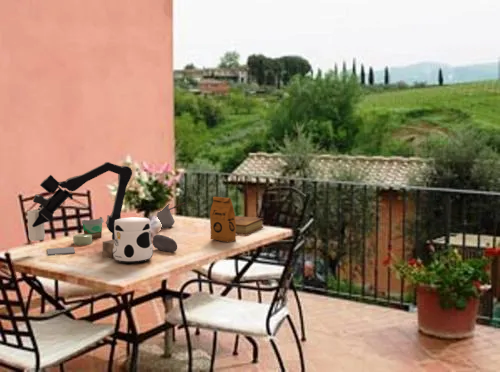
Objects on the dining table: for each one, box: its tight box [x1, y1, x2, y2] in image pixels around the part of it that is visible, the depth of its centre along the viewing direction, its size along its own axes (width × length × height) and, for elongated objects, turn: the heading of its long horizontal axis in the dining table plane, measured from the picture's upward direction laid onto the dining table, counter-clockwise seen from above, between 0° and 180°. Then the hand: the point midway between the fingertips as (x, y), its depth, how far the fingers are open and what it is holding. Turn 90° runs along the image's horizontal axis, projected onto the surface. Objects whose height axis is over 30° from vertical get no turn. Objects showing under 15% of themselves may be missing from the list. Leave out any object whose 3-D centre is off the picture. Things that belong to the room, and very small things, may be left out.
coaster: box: [46, 246, 76, 256], centre depth 298 cm, size 12×12×1 cm
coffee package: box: [209, 196, 237, 243], centre depth 319 cm, size 10×12×22 cm
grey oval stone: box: [152, 234, 178, 253], centre depth 298 cm, size 15×5×7 cm, turn 46°
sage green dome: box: [72, 233, 93, 246], centre depth 316 cm, size 9×9×4 cm
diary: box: [235, 215, 264, 235], centre depth 350 cm, size 23×19×6 cm
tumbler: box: [27, 209, 46, 242], centre depth 293 cm, size 6×6×13 cm
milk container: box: [113, 216, 154, 264], centre depth 278 cm, size 17×17×18 cm
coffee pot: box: [156, 201, 187, 229], centre depth 355 cm, size 21×12×15 cm, turn 57°
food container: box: [81, 216, 104, 240], centre depth 328 cm, size 12×6×10 cm, turn 143°
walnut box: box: [102, 239, 115, 260], centre depth 287 cm, size 6×6×7 cm
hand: (32, 225), depth 292 cm, fingers closed on tumbler, 7 cm apart
